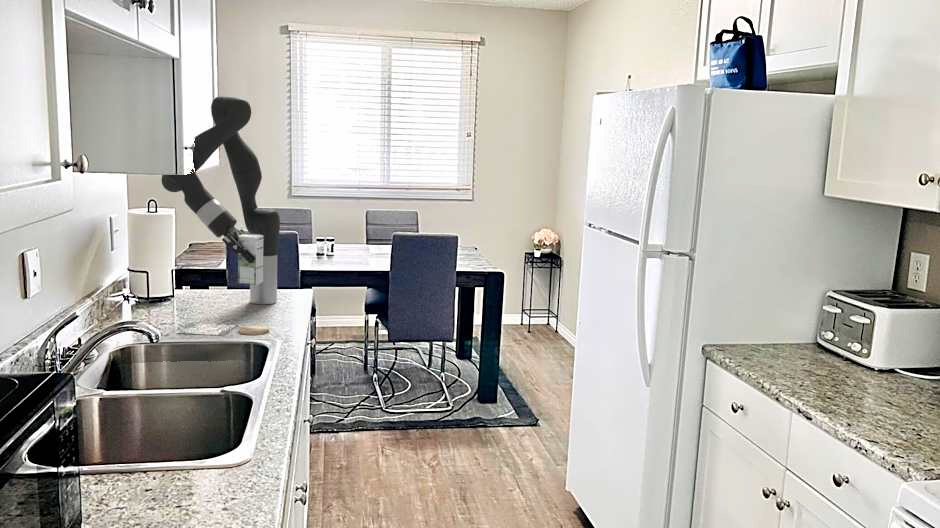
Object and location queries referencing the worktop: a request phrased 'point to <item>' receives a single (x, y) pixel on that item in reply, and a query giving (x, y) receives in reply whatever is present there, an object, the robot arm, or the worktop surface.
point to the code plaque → (218, 334)
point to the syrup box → (254, 270)
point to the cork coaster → (253, 330)
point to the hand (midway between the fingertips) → (256, 259)
